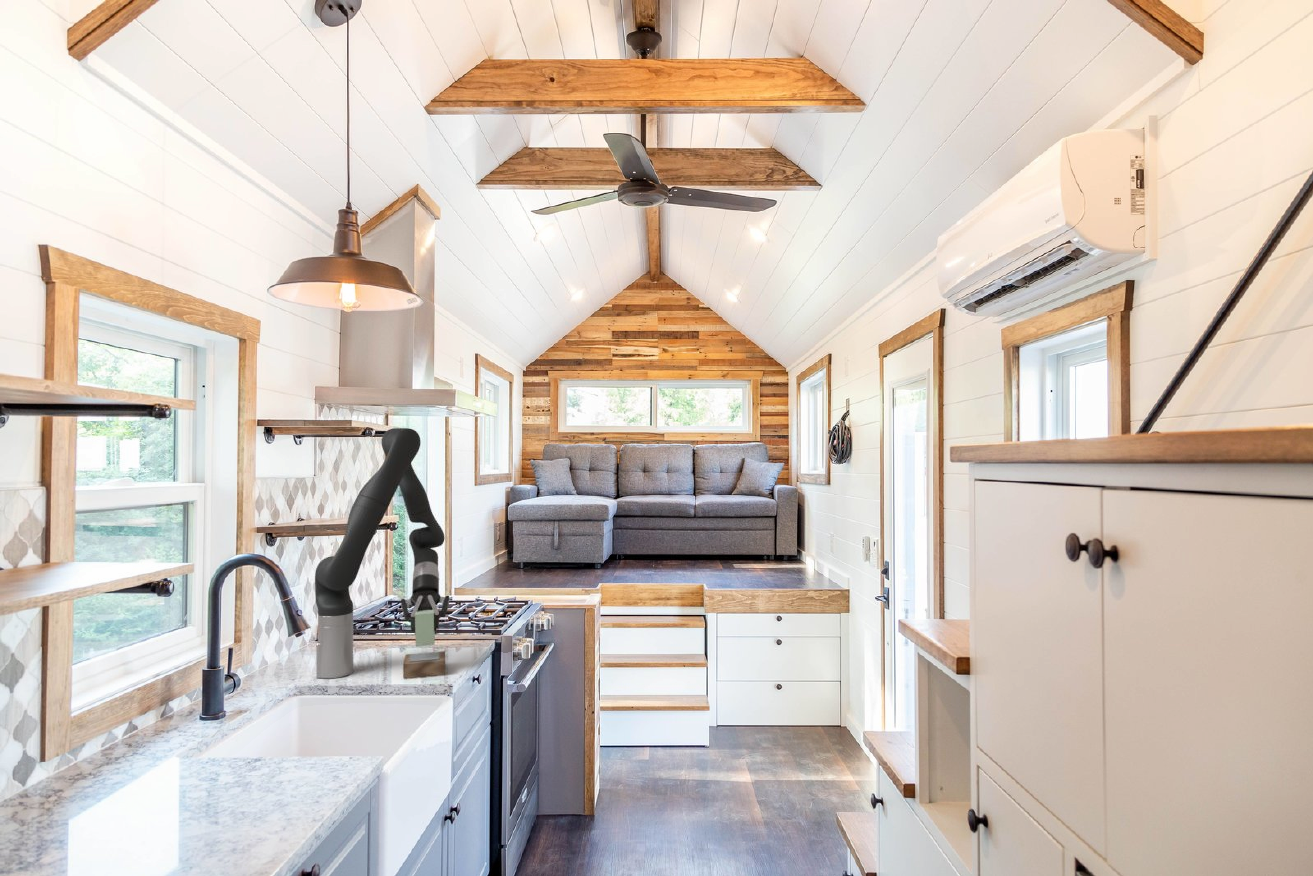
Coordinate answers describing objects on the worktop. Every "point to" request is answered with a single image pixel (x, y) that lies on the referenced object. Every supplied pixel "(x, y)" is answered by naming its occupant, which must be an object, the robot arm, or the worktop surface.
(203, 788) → the worktop surface
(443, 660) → the block
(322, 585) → the robot arm
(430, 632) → the sage block
